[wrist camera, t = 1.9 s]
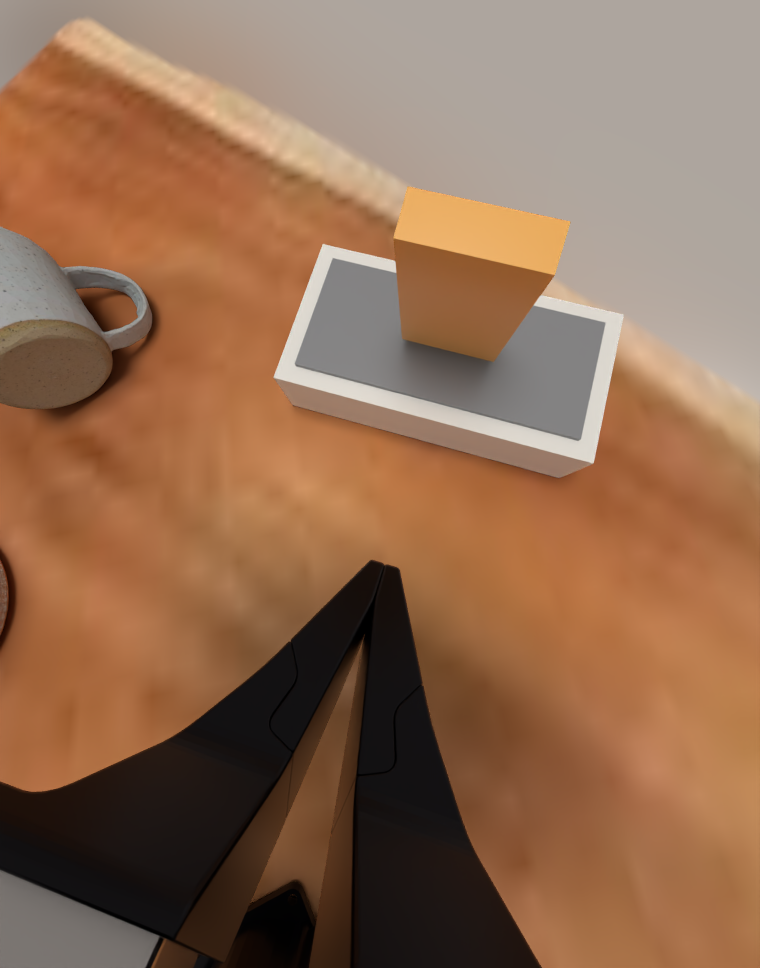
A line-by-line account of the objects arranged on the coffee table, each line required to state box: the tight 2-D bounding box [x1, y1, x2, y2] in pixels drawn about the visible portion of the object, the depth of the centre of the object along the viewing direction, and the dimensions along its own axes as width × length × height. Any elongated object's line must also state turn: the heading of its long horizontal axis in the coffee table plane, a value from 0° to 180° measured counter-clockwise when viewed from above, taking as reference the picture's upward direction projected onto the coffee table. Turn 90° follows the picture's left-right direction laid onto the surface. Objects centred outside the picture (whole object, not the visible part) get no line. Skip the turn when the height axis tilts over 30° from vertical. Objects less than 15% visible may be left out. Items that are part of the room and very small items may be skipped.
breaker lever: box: [394, 187, 570, 362], centre depth 15 cm, size 2×5×8 cm, turn 74°
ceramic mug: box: [0, 227, 152, 409], centre depth 22 cm, size 11×8×8 cm
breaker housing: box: [274, 244, 624, 478], centre depth 23 cm, size 9×18×4 cm, turn 73°
